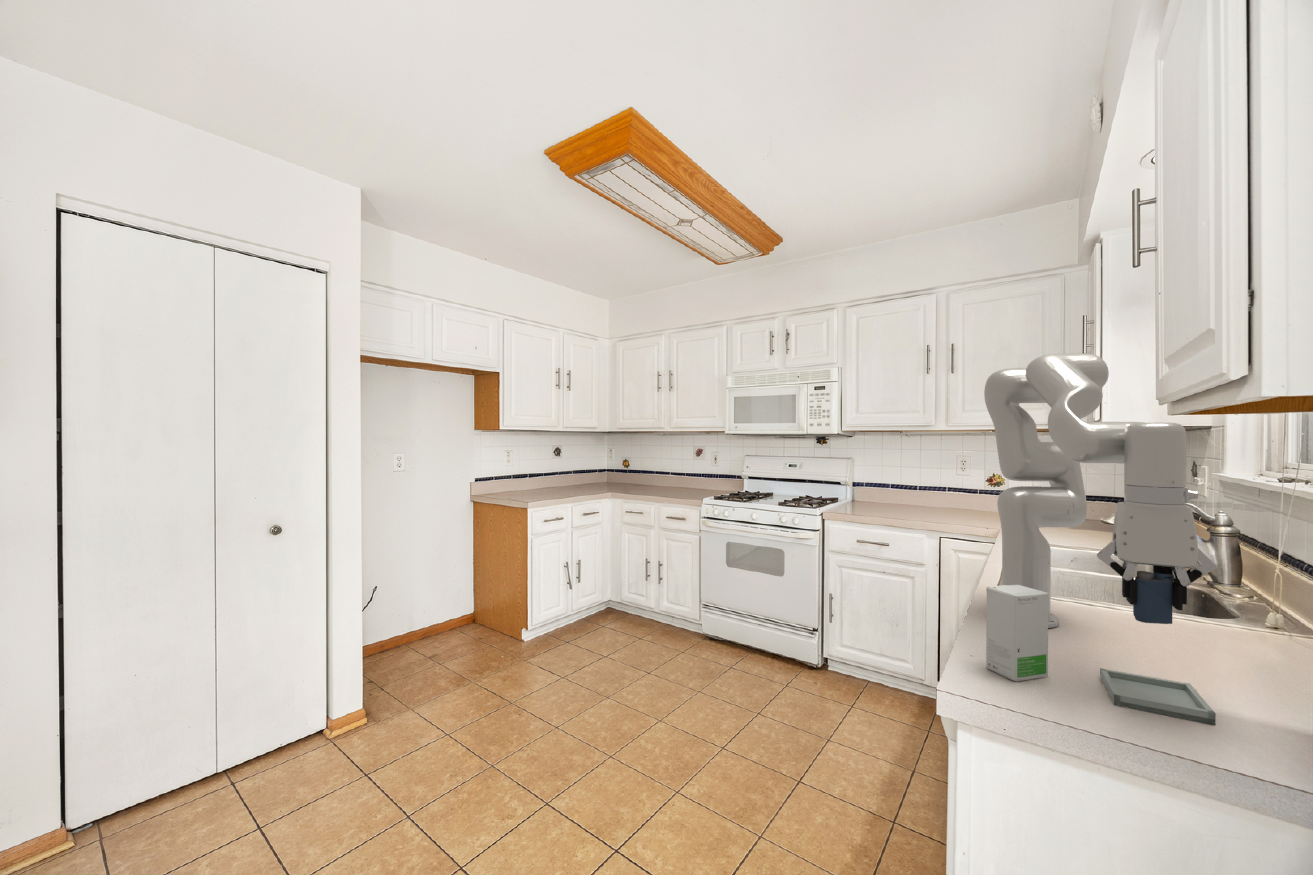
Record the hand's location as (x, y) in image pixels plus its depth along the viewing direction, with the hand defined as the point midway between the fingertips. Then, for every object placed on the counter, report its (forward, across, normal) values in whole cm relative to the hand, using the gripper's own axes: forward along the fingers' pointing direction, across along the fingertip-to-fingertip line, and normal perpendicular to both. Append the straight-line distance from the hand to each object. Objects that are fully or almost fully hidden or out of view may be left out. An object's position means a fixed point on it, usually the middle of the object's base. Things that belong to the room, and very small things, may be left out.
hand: (1153, 603), depth 89 cm
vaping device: (+3, 0, 0) cm, 3 cm away
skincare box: (+16, +19, -1) cm, 25 cm away
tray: (+16, 0, 0) cm, 16 cm away
